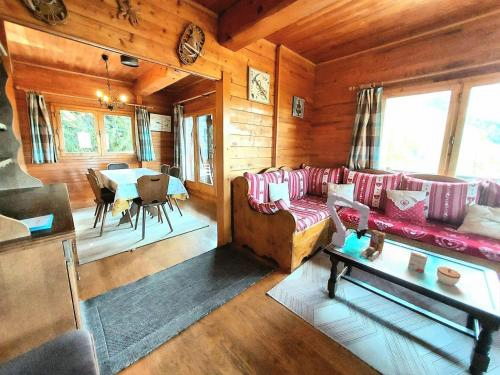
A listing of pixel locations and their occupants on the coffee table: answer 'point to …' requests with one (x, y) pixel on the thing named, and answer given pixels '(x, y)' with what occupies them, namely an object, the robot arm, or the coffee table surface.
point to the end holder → (369, 256)
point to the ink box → (417, 261)
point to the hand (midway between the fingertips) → (360, 237)
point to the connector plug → (370, 251)
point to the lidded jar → (448, 276)
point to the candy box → (377, 240)
